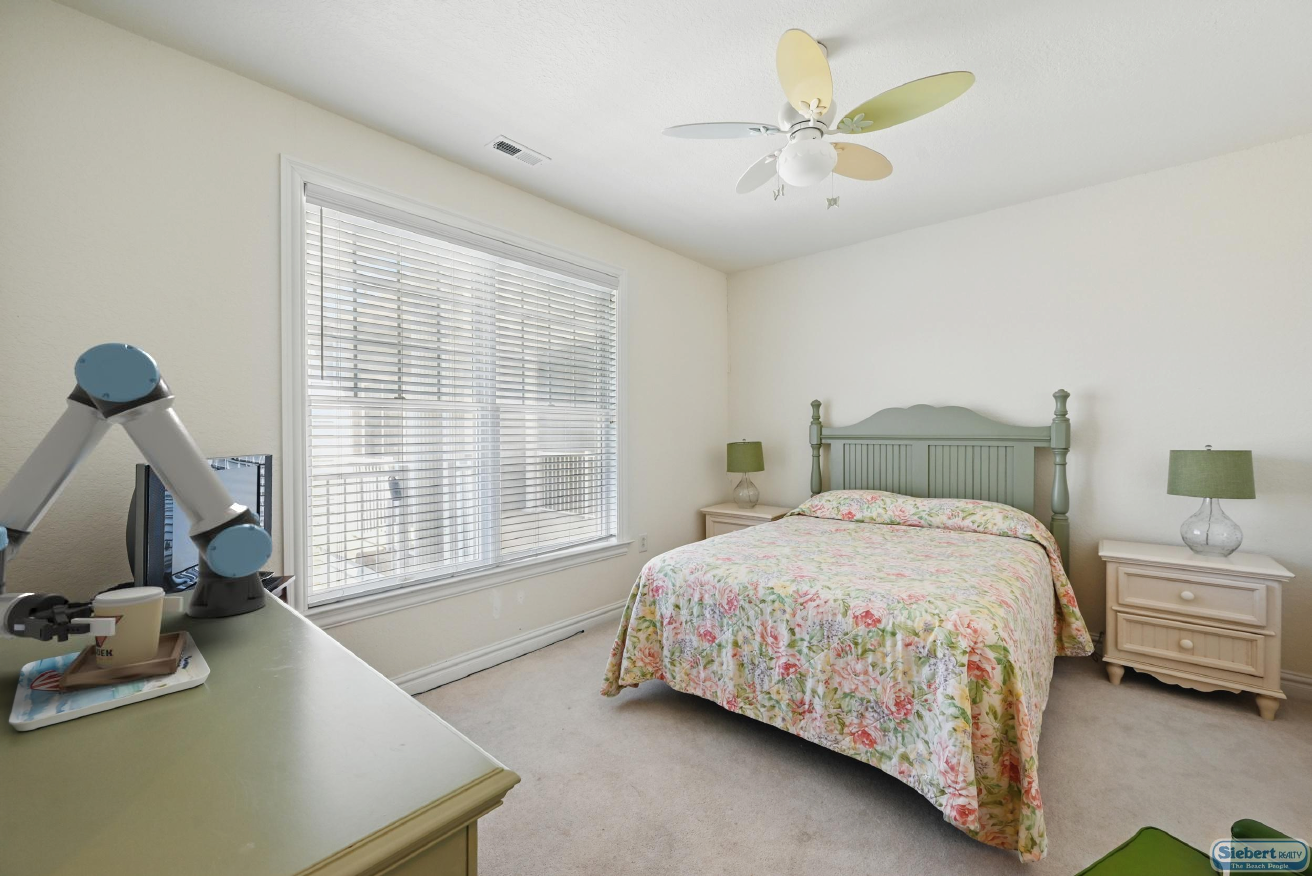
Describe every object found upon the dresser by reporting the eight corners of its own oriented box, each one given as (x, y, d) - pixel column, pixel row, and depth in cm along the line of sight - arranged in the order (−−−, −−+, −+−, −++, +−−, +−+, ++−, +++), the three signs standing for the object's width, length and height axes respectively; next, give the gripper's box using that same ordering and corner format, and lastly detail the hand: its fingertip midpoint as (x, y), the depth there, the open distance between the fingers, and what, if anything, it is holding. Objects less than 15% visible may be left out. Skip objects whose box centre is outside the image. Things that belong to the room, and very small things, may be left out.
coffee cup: (81, 664, 96) (83, 595, 96) (149, 647, 104) (151, 583, 105) (102, 674, 92) (105, 602, 92) (172, 656, 100) (174, 590, 100)
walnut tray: (185, 643, 110) (186, 630, 110) (175, 672, 95) (176, 658, 95) (86, 658, 101) (86, 645, 101) (58, 693, 87) (59, 677, 87)
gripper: (97, 615, 110) (204, 615, 111) (-63, 663, 85) (77, 662, 86) (98, 578, 111) (205, 577, 111) (-61, 615, 86) (78, 614, 86)
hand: (149, 614), depth 99 cm, fingers open, 13 cm apart
